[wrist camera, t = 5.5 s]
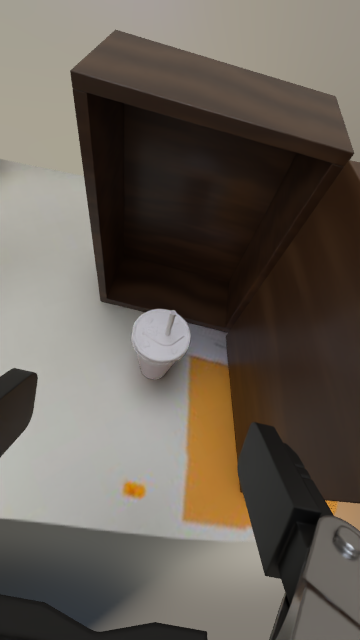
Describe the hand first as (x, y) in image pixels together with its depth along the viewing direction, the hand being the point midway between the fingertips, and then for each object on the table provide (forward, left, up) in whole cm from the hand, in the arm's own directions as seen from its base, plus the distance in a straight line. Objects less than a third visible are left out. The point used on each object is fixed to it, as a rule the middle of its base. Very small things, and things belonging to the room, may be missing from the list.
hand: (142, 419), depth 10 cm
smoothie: (+7, +10, -25) cm, 27 cm away
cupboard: (+14, +20, -25) cm, 35 cm away
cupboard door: (+17, 0, -24) cm, 30 cm away
